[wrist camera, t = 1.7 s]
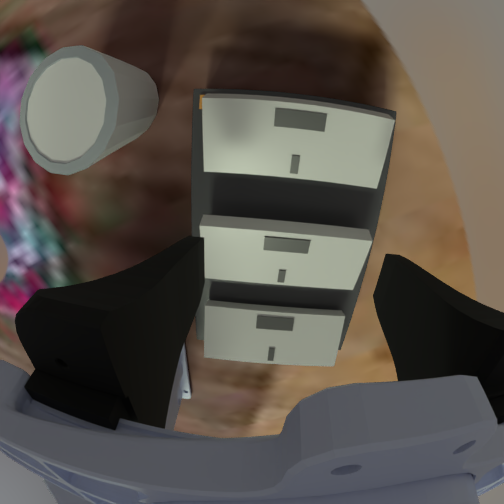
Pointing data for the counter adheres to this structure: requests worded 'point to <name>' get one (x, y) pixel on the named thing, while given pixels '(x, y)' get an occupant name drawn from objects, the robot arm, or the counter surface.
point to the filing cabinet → (280, 215)
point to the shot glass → (84, 108)
